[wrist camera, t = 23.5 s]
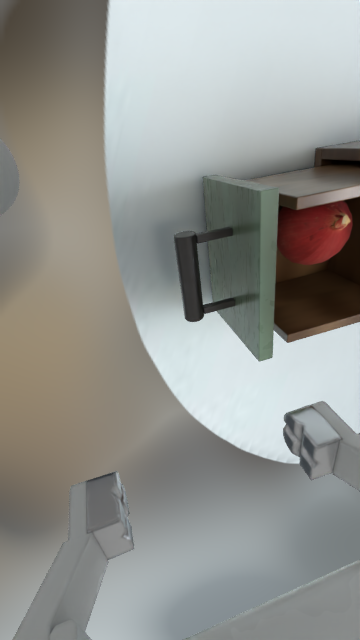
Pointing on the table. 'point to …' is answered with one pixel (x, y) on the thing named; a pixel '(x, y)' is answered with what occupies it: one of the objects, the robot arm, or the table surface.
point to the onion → (313, 232)
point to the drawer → (272, 258)
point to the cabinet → (338, 154)
